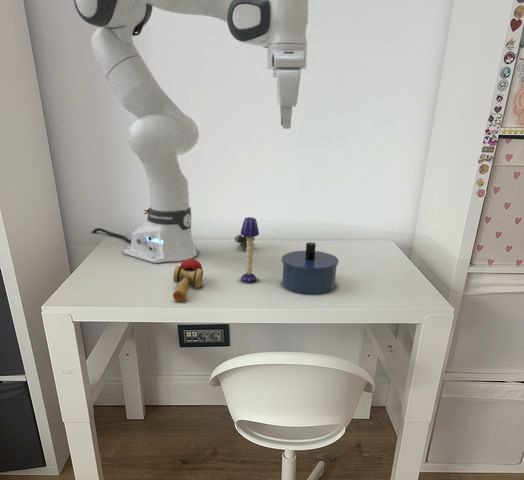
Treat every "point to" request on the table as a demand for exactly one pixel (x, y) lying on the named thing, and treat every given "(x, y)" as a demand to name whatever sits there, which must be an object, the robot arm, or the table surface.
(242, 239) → the eagle figurine
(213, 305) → the table surface
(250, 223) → the toy lamp
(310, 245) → the lid
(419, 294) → the table surface
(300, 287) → the pot
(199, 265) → the kendama
